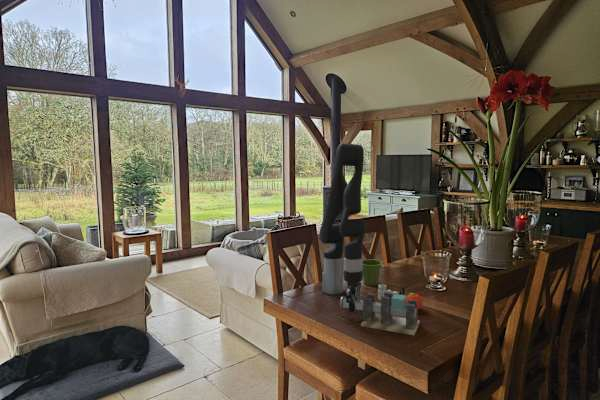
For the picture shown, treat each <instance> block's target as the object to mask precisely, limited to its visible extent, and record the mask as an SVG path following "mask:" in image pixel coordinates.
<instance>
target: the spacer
mask: <svg viewBox="0 0 600 400" xmlns="http://www.w3.org/2000/svg"><path fill="white" fill-rule="evenodd" d="M406 298H407V295H406V294H405V295H398V294H394V295H393V297H392V299H391V308H392V309H399V310H404V308H405V307H406Z"/></svg>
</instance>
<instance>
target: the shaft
mask: <svg viewBox="0 0 600 400" xmlns="http://www.w3.org/2000/svg"><path fill="white" fill-rule="evenodd" d="M339 307H340V308H346V309H349V303H347V302H346V297H345V296H342V295H341V296H340V300H339ZM355 310H357V311H359V310H360V311H363V299H359V298H358V299H355ZM372 312H375V313H377V314H381V302H378V301H375V302H372ZM390 315H393V316H396V317H402V318H406V307H405V308H404V310H399V309H392V308H391V304H390ZM415 317H416V308H415Z"/></svg>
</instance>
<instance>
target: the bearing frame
mask: <svg viewBox="0 0 600 400" xmlns="http://www.w3.org/2000/svg"><path fill="white" fill-rule="evenodd" d="M392 297H393V293H390V292H385V293H384V296H382V297H381V300H380V303H381V313H376V312H372V302H376V293H372V292H371V293H369V292H367V294H366V297H363V298H362V300H363V310H362V322H361V323H360V326H361V327H363V328H364V327H366V328H371V329H375V330H381V331H386V332H393V333H398V334H405V335H409V336H415V334H416V333H417V330H418V328H419V326H420V322H421V321H420V320H419V319H418V312H419V311H418V310H419V309H418V300H413V299H409V304H406V317H401V316H395V315H390V304H391V299H392ZM415 308H416V317H415Z"/></svg>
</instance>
